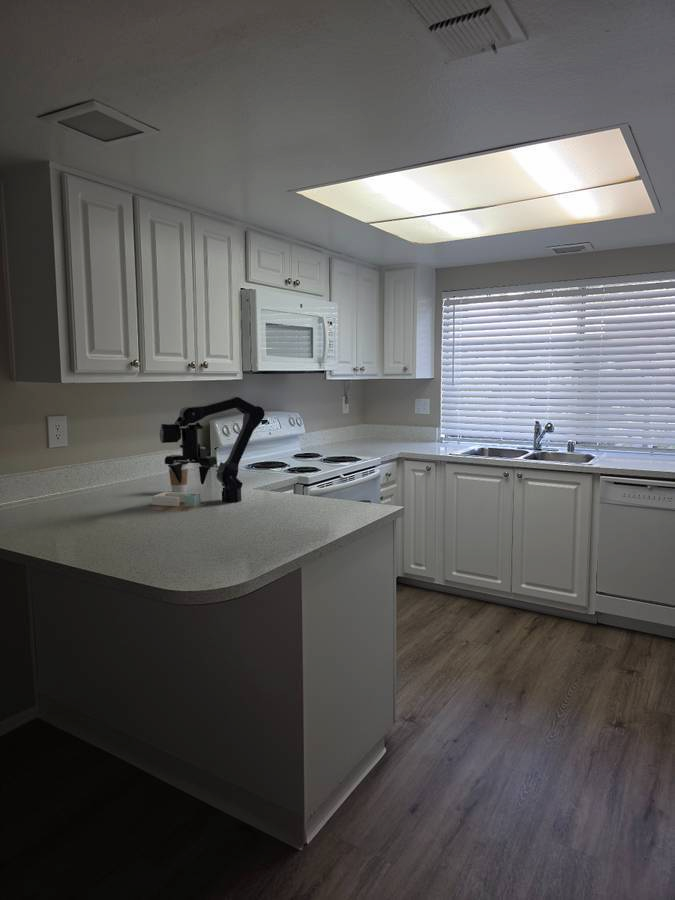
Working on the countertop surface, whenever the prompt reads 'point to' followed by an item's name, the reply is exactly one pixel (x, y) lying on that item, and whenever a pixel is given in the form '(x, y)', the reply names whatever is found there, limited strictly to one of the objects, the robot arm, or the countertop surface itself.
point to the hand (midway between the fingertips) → (191, 483)
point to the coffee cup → (175, 484)
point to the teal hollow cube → (192, 500)
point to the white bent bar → (168, 499)
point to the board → (174, 507)
